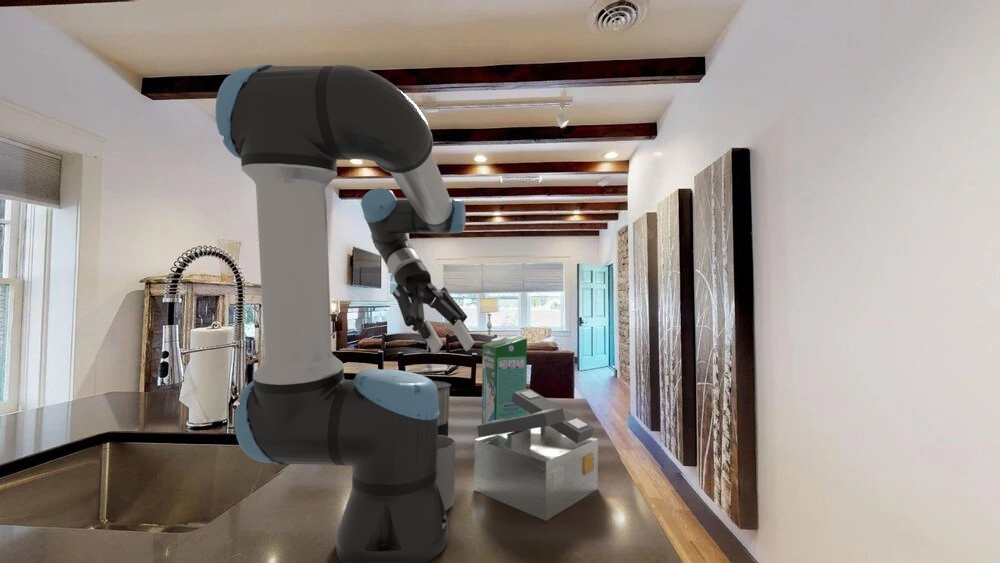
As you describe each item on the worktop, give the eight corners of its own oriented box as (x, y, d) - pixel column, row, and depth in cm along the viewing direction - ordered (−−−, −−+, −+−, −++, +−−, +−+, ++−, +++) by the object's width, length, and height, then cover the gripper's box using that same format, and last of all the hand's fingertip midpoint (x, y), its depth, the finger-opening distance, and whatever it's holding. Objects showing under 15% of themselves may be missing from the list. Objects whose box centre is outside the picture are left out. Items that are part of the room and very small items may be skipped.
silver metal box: (547, 521, 66) (547, 446, 67) (473, 490, 77) (474, 425, 78) (599, 489, 78) (599, 426, 79) (529, 466, 89) (529, 410, 90)
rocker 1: (547, 426, 68) (544, 411, 68) (479, 437, 78) (476, 424, 78) (565, 420, 71) (562, 406, 72) (497, 431, 81) (495, 419, 82)
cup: (401, 495, 75) (402, 437, 75) (447, 489, 78) (448, 432, 78) (408, 518, 67) (410, 452, 67) (459, 510, 70) (460, 447, 70)
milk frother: (457, 448, 100) (459, 384, 101) (403, 467, 88) (405, 393, 89) (418, 436, 109) (419, 377, 110) (363, 451, 97) (365, 385, 98)
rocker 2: (576, 443, 75) (580, 432, 74) (511, 401, 85) (513, 391, 85) (591, 437, 78) (594, 426, 78) (526, 397, 89) (529, 387, 89)
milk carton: (481, 428, 117) (482, 335, 118) (511, 424, 120) (512, 335, 122) (495, 437, 108) (496, 338, 110) (526, 433, 112) (527, 337, 114)
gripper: (437, 286, 108) (481, 356, 96) (362, 282, 93) (403, 364, 81) (451, 264, 105) (499, 333, 93) (376, 255, 89) (421, 337, 78)
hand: (454, 347), depth 87 cm, fingers open, 8 cm apart
